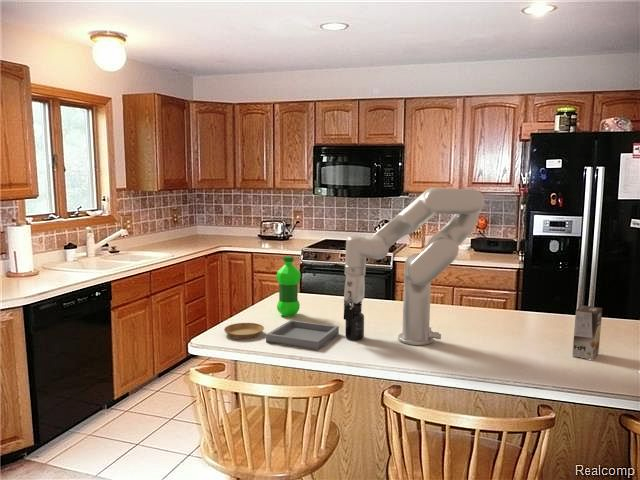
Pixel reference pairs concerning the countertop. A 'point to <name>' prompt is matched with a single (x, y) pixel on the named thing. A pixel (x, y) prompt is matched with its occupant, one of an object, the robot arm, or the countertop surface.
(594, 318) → the coffee box
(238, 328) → the plant saucer
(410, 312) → the robot arm
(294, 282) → the plastic bottle
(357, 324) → the supplement bottle
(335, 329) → the tray
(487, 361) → the countertop surface
